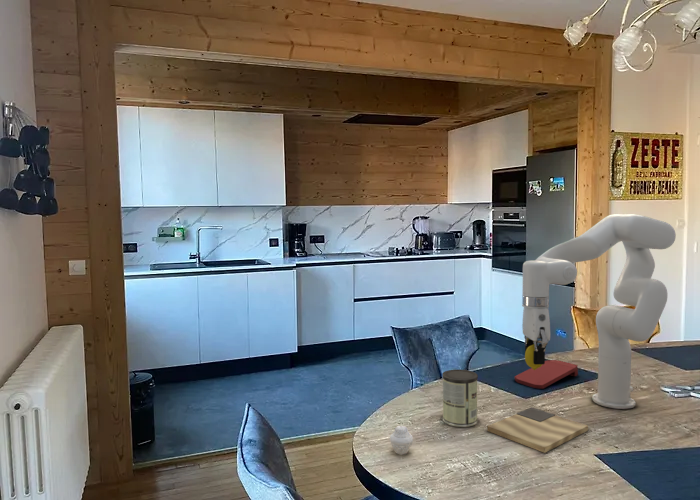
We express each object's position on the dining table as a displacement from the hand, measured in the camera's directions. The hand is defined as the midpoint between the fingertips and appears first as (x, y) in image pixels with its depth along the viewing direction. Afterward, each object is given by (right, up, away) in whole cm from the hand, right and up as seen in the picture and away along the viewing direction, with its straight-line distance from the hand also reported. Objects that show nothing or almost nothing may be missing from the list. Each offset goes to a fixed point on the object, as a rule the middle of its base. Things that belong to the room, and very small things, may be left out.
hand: (534, 360), depth 161 cm
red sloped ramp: (+18, -15, +37) cm, 44 cm away
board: (-3, -18, -10) cm, 21 cm away
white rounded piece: (-42, -19, -22) cm, 52 cm away
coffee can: (-23, -18, -2) cm, 29 cm away
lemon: (0, -3, 0) cm, 3 cm away
